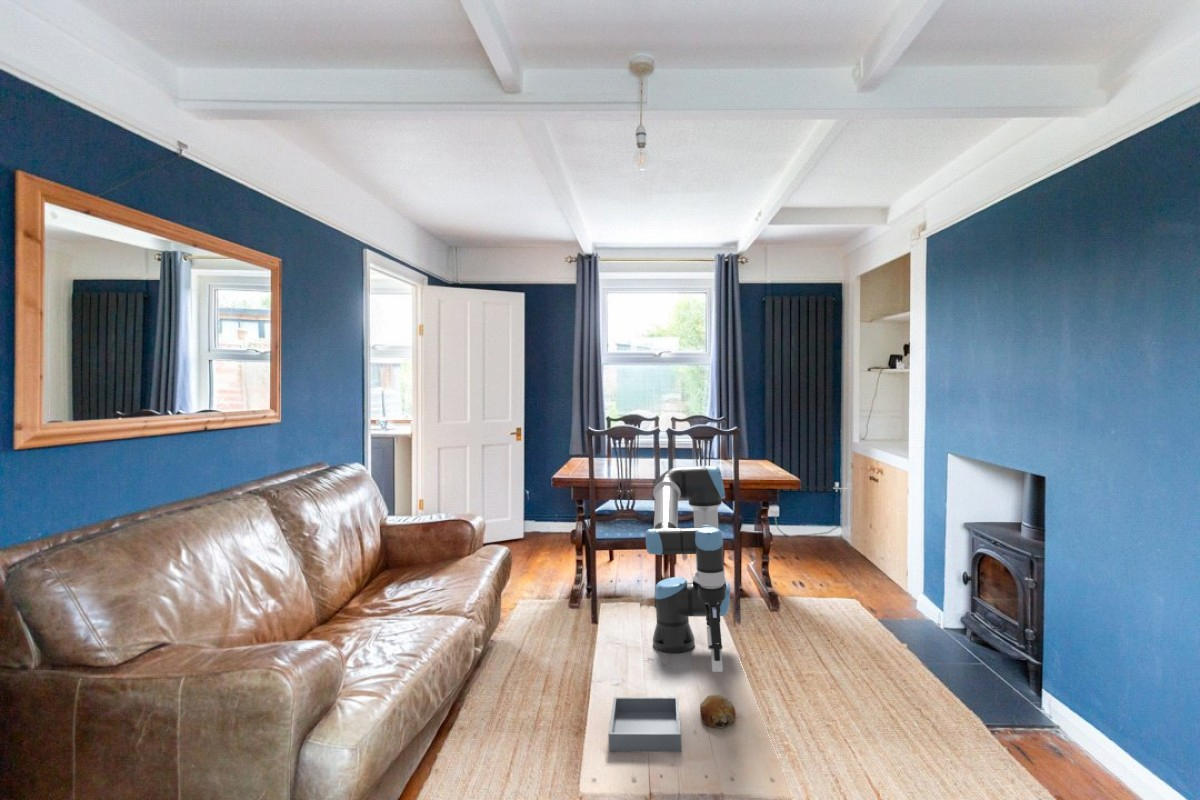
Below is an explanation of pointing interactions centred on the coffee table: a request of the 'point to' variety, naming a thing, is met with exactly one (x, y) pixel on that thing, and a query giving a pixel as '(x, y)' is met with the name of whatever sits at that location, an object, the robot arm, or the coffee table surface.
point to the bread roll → (717, 711)
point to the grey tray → (645, 724)
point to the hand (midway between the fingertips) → (715, 659)
